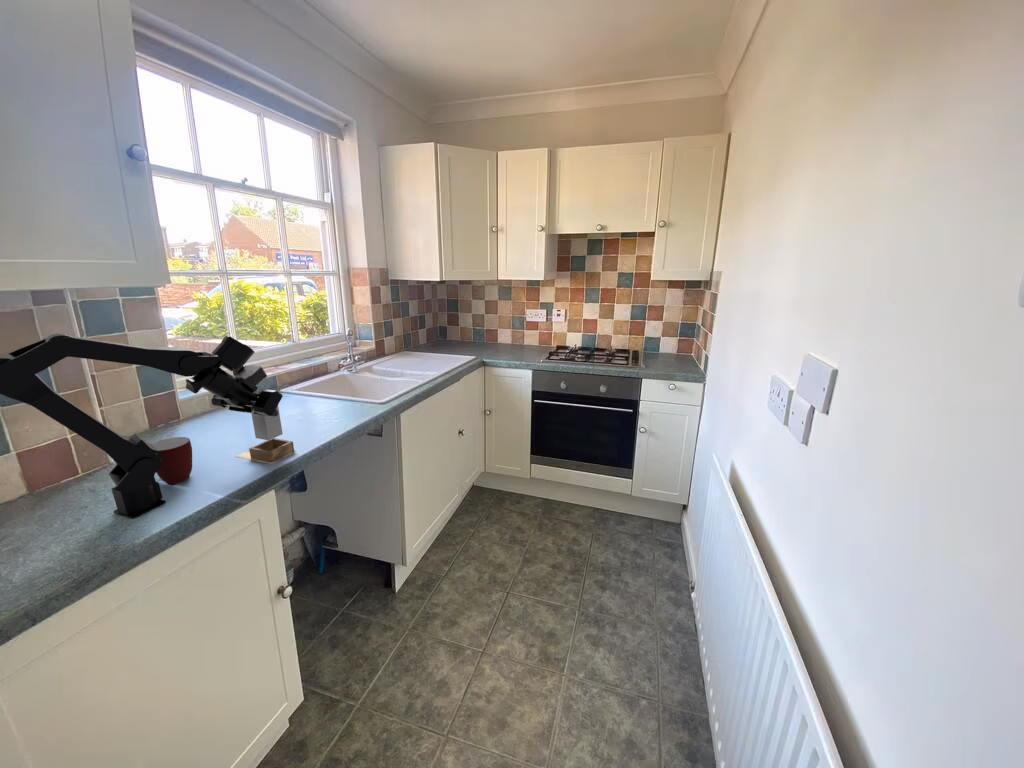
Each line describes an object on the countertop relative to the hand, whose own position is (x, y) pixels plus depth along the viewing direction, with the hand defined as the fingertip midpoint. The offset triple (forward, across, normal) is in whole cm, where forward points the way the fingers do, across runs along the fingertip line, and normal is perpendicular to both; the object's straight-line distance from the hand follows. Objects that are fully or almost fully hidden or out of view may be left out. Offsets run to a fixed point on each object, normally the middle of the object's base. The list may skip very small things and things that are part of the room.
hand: (270, 413), depth 111 cm
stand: (+8, +2, +10) cm, 13 cm away
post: (+3, 0, +5) cm, 6 cm away
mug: (-4, +12, +22) cm, 25 cm away
